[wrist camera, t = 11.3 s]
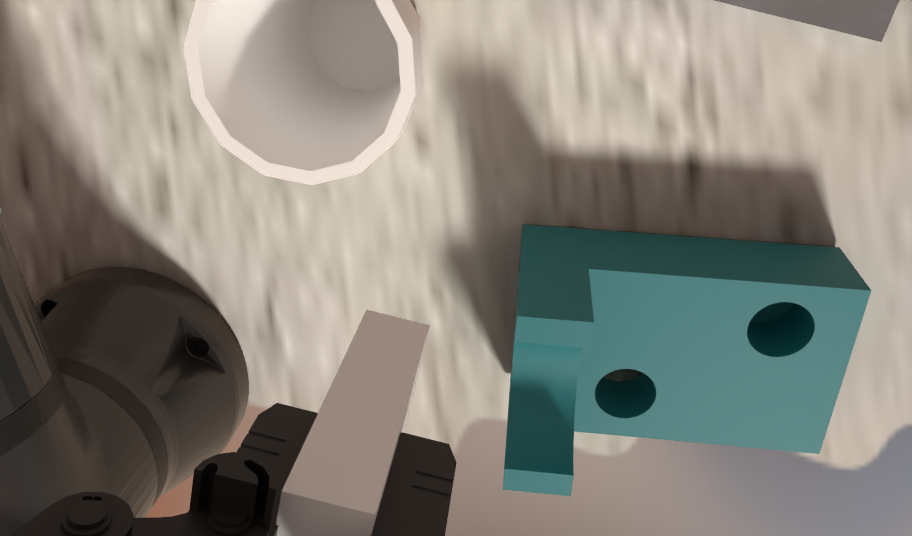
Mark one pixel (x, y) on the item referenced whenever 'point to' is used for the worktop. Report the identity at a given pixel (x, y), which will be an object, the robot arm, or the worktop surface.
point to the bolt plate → (831, 13)
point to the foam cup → (305, 81)
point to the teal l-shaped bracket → (673, 344)
